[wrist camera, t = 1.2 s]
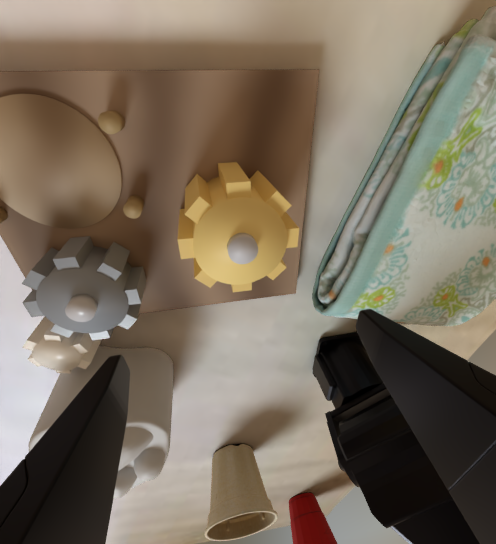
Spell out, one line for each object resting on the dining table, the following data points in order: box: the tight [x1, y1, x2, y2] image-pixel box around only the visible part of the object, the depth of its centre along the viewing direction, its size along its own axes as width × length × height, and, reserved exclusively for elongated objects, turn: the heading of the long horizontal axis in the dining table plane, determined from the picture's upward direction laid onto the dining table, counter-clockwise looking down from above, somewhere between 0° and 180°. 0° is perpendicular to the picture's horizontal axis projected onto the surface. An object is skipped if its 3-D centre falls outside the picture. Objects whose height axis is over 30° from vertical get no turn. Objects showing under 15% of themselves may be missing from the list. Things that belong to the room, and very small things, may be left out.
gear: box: [22, 236, 146, 340], centre depth 18 cm, size 7×7×4 cm
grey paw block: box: [29, 346, 174, 499], centre depth 25 cm, size 10×13×9 cm
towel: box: [312, 6, 496, 326], centre depth 22 cm, size 18×21×5 cm
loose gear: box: [177, 162, 299, 292], centre depth 16 cm, size 7×7×6 cm
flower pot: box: [205, 444, 278, 541], centre depth 38 cm, size 9×9×9 cm
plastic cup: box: [289, 493, 337, 544], centre depth 54 cm, size 11×11×12 cm
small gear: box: [23, 317, 102, 374], centre depth 21 cm, size 4×4×3 cm
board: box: [0, 70, 319, 314], centre depth 18 cm, size 20×16×3 cm
